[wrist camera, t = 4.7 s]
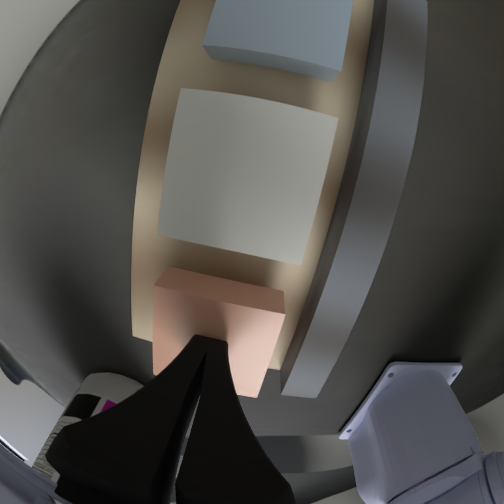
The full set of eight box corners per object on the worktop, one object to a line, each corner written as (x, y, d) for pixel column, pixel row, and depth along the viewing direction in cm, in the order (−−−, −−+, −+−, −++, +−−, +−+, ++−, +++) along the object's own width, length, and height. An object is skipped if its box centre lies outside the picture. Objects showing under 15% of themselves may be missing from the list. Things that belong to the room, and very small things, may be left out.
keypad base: (310, 362, 16) (315, 398, 13) (138, 326, 16) (119, 356, 13) (401, 21, 9) (426, 1, 6) (198, -23, 8) (184, -52, 6)
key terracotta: (257, 372, 13) (256, 397, 12) (164, 351, 13) (153, 374, 12) (283, 291, 12) (285, 314, 10) (168, 266, 12) (153, 285, 10)
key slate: (330, 82, 9) (341, 71, 8) (211, 59, 9) (202, 45, 8) (345, -3, 8) (355, -21, 6) (237, -24, 8) (233, -44, 6)
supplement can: (171, 383, 18) (110, 570, 4) (176, 436, 21) (140, 571, 7) (78, 354, 18) (-12, 494, 4) (99, 412, 21) (45, 527, 7)
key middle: (295, 247, 11) (300, 265, 9) (173, 221, 11) (157, 234, 9) (326, 123, 9) (338, 118, 8) (195, 97, 9) (180, 87, 7)
